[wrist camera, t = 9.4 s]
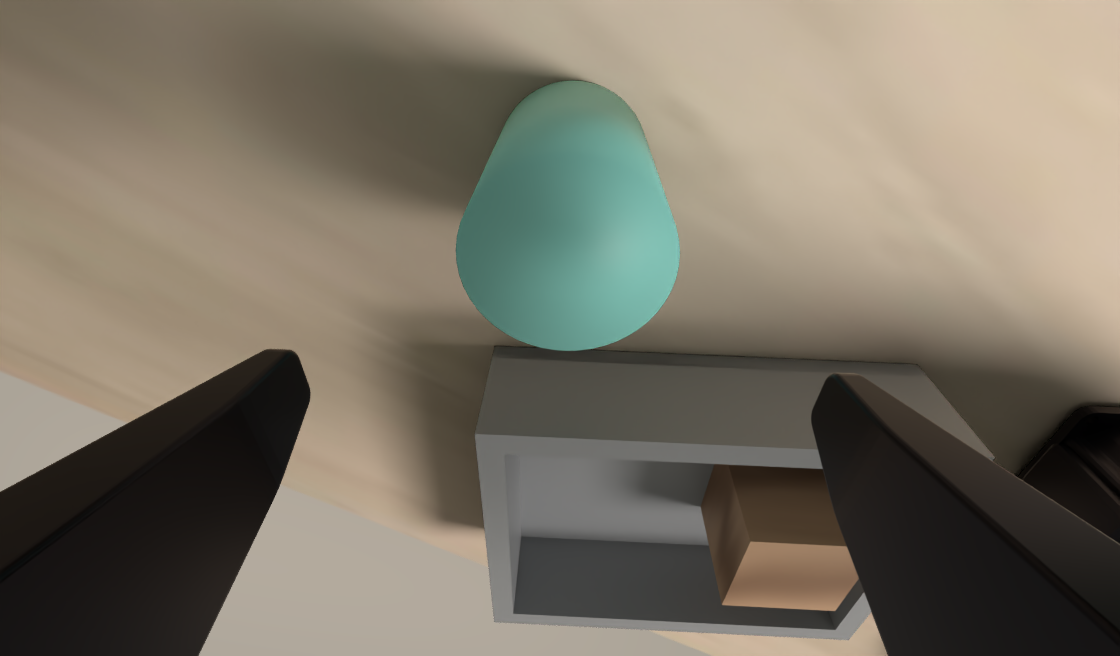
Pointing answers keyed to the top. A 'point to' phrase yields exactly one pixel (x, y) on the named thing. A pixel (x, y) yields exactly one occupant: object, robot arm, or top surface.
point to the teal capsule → (569, 223)
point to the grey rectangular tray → (648, 480)
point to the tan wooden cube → (775, 538)
